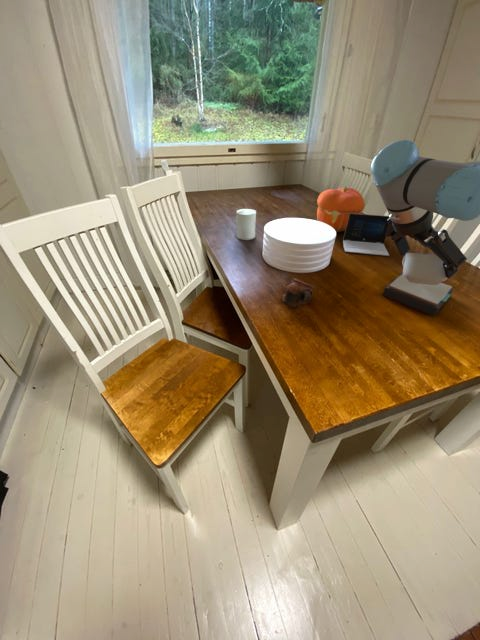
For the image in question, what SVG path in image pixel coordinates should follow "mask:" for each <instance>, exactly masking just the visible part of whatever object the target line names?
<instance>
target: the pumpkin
mask: <svg viewBox="0 0 480 640" xmlns="http://www.w3.org/2000/svg"><path fill="white" fill-rule="evenodd" d="M316 203H317V206H318V207H317V210H316V221H320V222H323V223H325V224H327V225H329V226H331V227H332V228H334V229H335V231H336V233H340V232H345V230H346V226H347V222H348V218H349V214H350V213H354V214H363V211H364V210H365V206H366V205H365V198H364V197H363V195H362V194H361V193H360V192H359V191H358V190H357V189H355V188H351V187H346V186H344V187H340V188H337V189H335V188H328V189H326V190H324V191H322V192H321V193H320V194H319V195H318V197H317V201H316Z"/></svg>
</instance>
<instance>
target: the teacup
mask: <svg viewBox="0 0 480 640" xmlns="http://www.w3.org/2000/svg"><path fill="white" fill-rule="evenodd" d="M401 263H402V267H403V268H402V273H403V275H404V277H405V278H406V279H407V280H408V281H409V282H412V283H418V284H427V285H438V284H440V283H443V282H445V281H446V280H448V278H446V275H445V271H444V267H443V263H444V262H443V261H442V260H441V259H440V258H439V257H438V256H437V255H436V254H433V253H432V254H431V253H417V252H406V253H405V254H404V255H403V258H402V261H401Z"/></svg>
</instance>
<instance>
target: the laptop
mask: <svg viewBox="0 0 480 640" xmlns="http://www.w3.org/2000/svg"><path fill="white" fill-rule="evenodd" d="M389 217H390V216H389V215H381V214H367V213H362V214H354V213H350V214H349V218H348V222H347V226H346V230H345V231H344V234H343V238H342V245H343V249H344V253H345V252H346V253H350V254H361V255H370V256H371V255H373V256H380V257H381V256H382V257H383V256H384V257H390V254H389V252H388V249H387V248H386V246H385V241H386V238H387V237H386V235H385V233H386V230H387V227H388V222H387V220H388V219H389Z"/></svg>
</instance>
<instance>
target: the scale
mask: <svg viewBox="0 0 480 640" xmlns="http://www.w3.org/2000/svg"><path fill="white" fill-rule="evenodd" d="M454 290H455V289H454V288H453V286H452V285H450V284H446V283H443V282H441V283H440V284H438V285H427V284H418V283H412V282H409V281H408V280H407V279H406V278H405V277H404V275H403V272H402V273H400V275H399V276H397V277H396V278H395V279H394V280H393V281H391V282H390V283H389V284H388V285H386V286H385V287H384V289H383V292H382V296H384V297H385V298H388V299H391V300H393V301H396V302H398V303H400V304H402V305H405V306H407V307H410V308H413V309H415V310H417V311H420V312H422V313H425V314H427V315H429V316H432V317H435V315H436V314H437V313H438V312H439V311H440V309H441V308H442V307H443V306H444V305H445V303H446V302H447V301H448V300H449V298H450V297H451V296H452V293H453V292H454Z"/></svg>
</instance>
